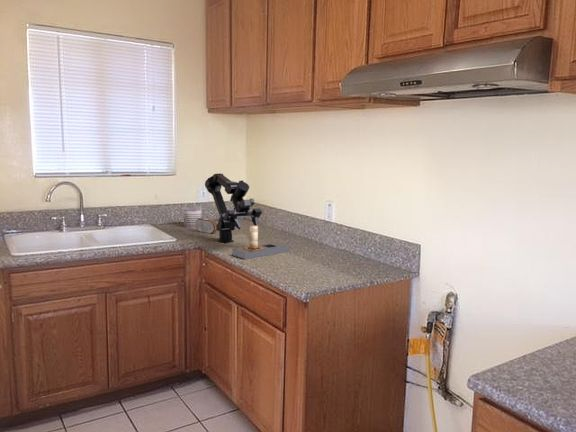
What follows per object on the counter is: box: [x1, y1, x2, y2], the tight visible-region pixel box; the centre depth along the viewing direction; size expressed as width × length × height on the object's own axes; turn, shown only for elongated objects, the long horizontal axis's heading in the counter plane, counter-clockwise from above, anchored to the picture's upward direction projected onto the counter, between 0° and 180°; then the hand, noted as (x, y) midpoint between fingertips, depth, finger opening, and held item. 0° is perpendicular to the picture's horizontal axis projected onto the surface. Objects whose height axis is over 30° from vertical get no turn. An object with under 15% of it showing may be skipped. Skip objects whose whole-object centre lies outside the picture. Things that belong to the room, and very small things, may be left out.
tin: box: [195, 217, 218, 235], centre depth 286 cm, size 15×3×8 cm, turn 58°
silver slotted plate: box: [231, 241, 291, 260], centre depth 238 cm, size 28×10×3 cm, turn 132°
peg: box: [248, 225, 259, 250], centre depth 234 cm, size 4×4×14 cm
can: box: [182, 205, 203, 229], centre depth 305 cm, size 11×11×12 cm
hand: (248, 228), depth 239 cm, fingers open, 9 cm apart
